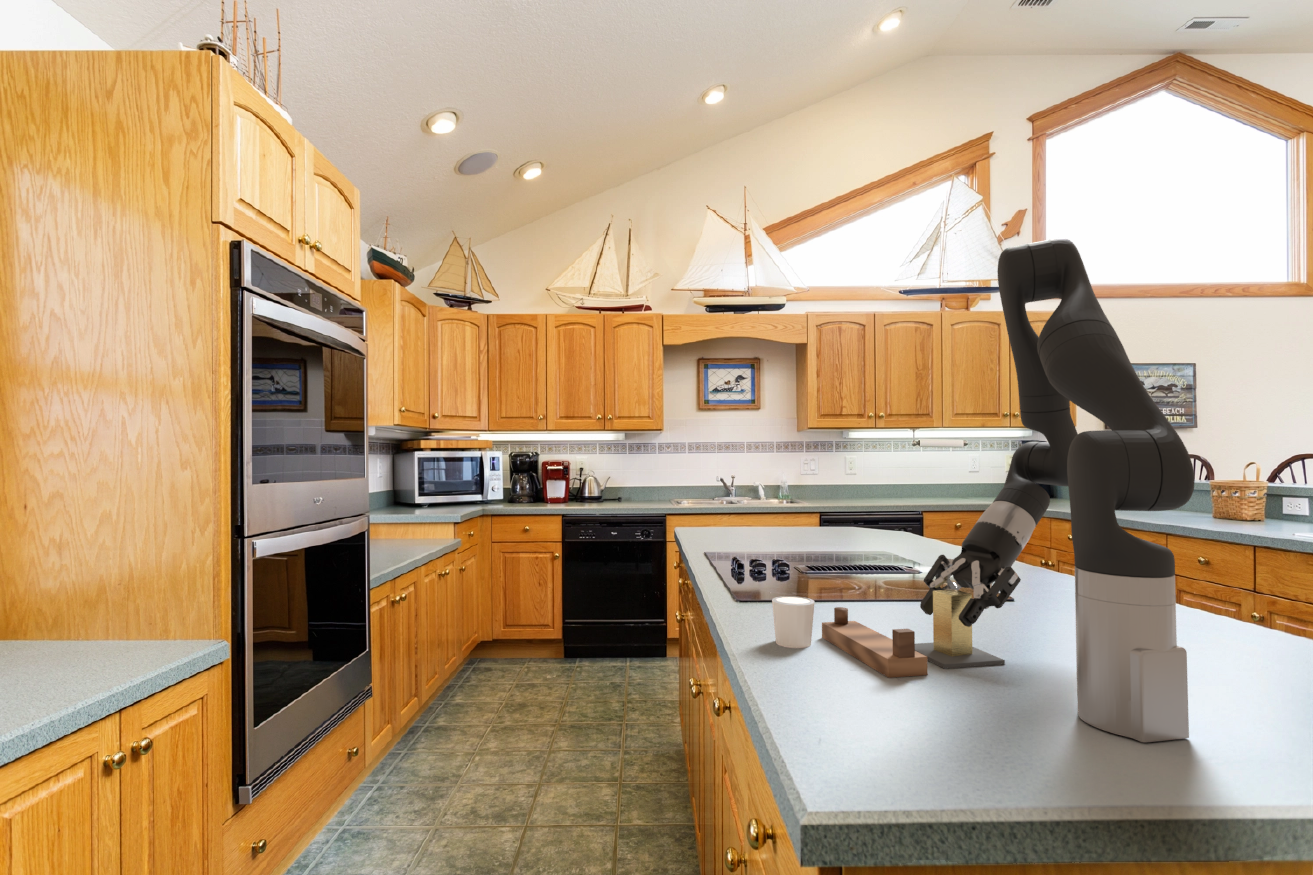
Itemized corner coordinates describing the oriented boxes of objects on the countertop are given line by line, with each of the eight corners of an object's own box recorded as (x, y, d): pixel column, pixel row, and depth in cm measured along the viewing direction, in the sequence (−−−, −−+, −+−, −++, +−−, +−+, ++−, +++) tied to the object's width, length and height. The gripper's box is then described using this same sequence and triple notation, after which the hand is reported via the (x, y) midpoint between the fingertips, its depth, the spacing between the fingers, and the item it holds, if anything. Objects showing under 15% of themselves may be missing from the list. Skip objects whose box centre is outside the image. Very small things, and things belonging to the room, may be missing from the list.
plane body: (927, 674, 88) (927, 631, 88) (888, 677, 86) (887, 633, 87) (854, 635, 107) (854, 599, 108) (821, 637, 106) (821, 601, 106)
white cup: (819, 649, 99) (819, 604, 100) (775, 649, 100) (775, 604, 100) (809, 637, 106) (809, 595, 106) (768, 636, 106) (768, 595, 107)
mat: (1004, 664, 92) (1004, 660, 92) (943, 668, 90) (943, 664, 90) (959, 644, 102) (959, 640, 102) (903, 648, 100) (903, 644, 100)
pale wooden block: (972, 653, 95) (971, 593, 96) (952, 656, 94) (951, 595, 94) (953, 647, 99) (952, 589, 99) (933, 649, 97) (932, 590, 98)
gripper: (949, 516, 106) (895, 591, 102) (1027, 524, 93) (969, 611, 88) (973, 546, 108) (921, 621, 103) (1053, 558, 95) (997, 645, 90)
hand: (943, 616), depth 96 cm, fingers open, 7 cm apart
